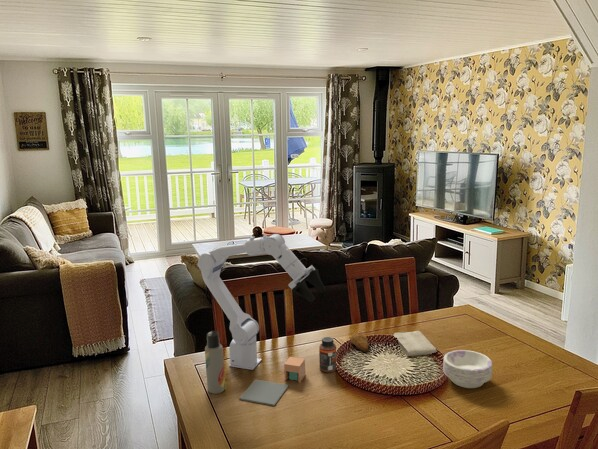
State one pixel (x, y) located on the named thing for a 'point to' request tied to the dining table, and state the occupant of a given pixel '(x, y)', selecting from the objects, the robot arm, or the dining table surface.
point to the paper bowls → (467, 368)
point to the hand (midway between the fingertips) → (318, 295)
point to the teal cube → (293, 376)
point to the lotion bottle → (214, 363)
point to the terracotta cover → (295, 367)
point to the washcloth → (414, 343)
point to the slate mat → (264, 392)
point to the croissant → (360, 341)
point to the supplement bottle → (327, 355)
